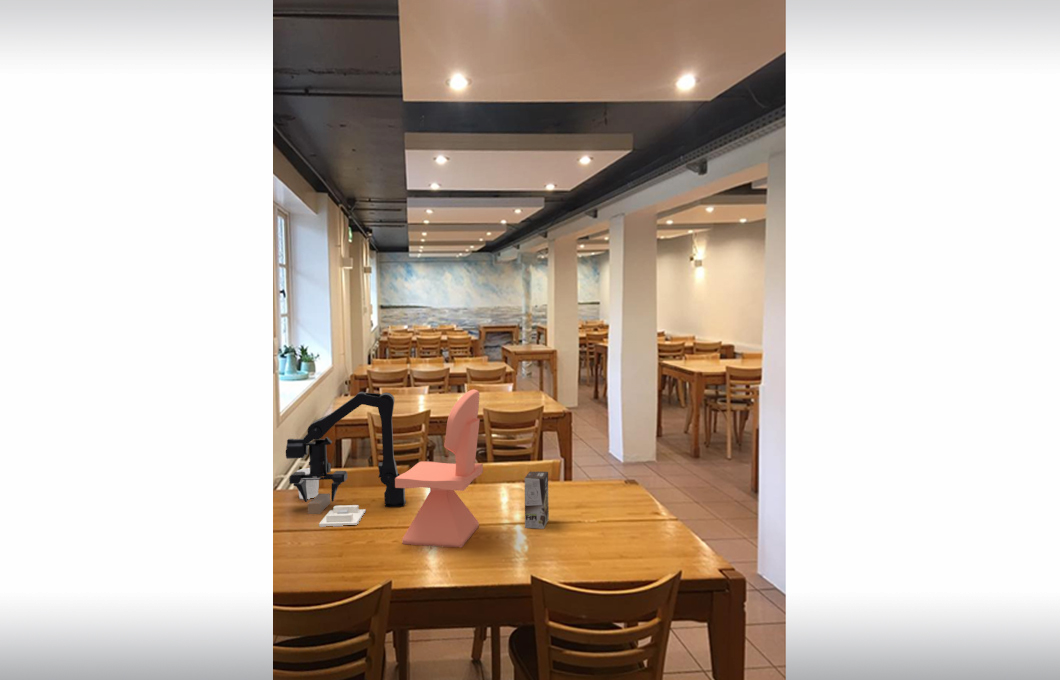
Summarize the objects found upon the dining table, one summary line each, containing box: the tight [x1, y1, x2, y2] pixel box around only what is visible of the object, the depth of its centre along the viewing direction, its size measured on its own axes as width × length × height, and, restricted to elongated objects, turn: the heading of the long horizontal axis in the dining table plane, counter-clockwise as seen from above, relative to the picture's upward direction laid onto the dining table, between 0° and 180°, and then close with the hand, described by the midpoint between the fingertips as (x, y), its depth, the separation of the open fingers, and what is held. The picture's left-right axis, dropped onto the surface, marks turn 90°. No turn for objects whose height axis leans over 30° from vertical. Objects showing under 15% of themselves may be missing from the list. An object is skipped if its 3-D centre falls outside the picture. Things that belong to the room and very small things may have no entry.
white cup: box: [296, 467, 320, 500], centre depth 245 cm, size 8×8×10 cm
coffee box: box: [524, 471, 550, 530], centre depth 212 cm, size 9×6×16 cm
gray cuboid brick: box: [307, 493, 331, 515], centre depth 231 cm, size 12×4×4 cm, turn 0°
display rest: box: [318, 504, 366, 528], centre depth 219 cm, size 12×14×3 cm
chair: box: [395, 388, 484, 549], centre depth 202 cm, size 27×22×45 cm
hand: (319, 501), depth 230 cm, fingers open, 9 cm apart
